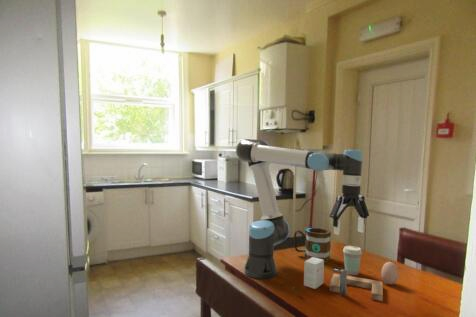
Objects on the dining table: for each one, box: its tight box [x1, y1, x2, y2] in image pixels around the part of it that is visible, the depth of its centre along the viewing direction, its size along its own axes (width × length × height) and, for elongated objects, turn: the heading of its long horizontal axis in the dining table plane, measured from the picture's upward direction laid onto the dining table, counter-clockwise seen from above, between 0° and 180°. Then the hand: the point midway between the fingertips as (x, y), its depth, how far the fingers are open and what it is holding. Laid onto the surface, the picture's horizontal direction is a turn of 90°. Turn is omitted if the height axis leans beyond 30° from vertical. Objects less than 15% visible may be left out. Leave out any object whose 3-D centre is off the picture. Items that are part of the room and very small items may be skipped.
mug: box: [293, 227, 332, 263], centre depth 170 cm, size 20×14×15 cm
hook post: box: [332, 268, 348, 298], centre depth 126 cm, size 5×2×10 cm, turn 66°
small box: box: [303, 257, 325, 290], centre depth 135 cm, size 8×6×10 cm
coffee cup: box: [342, 245, 363, 276], centre depth 149 cm, size 9×8×12 cm
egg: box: [380, 261, 399, 286], centre depth 137 cm, size 7×7×10 cm
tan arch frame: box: [328, 272, 384, 302], centre depth 131 cm, size 20×14×2 cm
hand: (348, 233), depth 137 cm, fingers open, 13 cm apart
